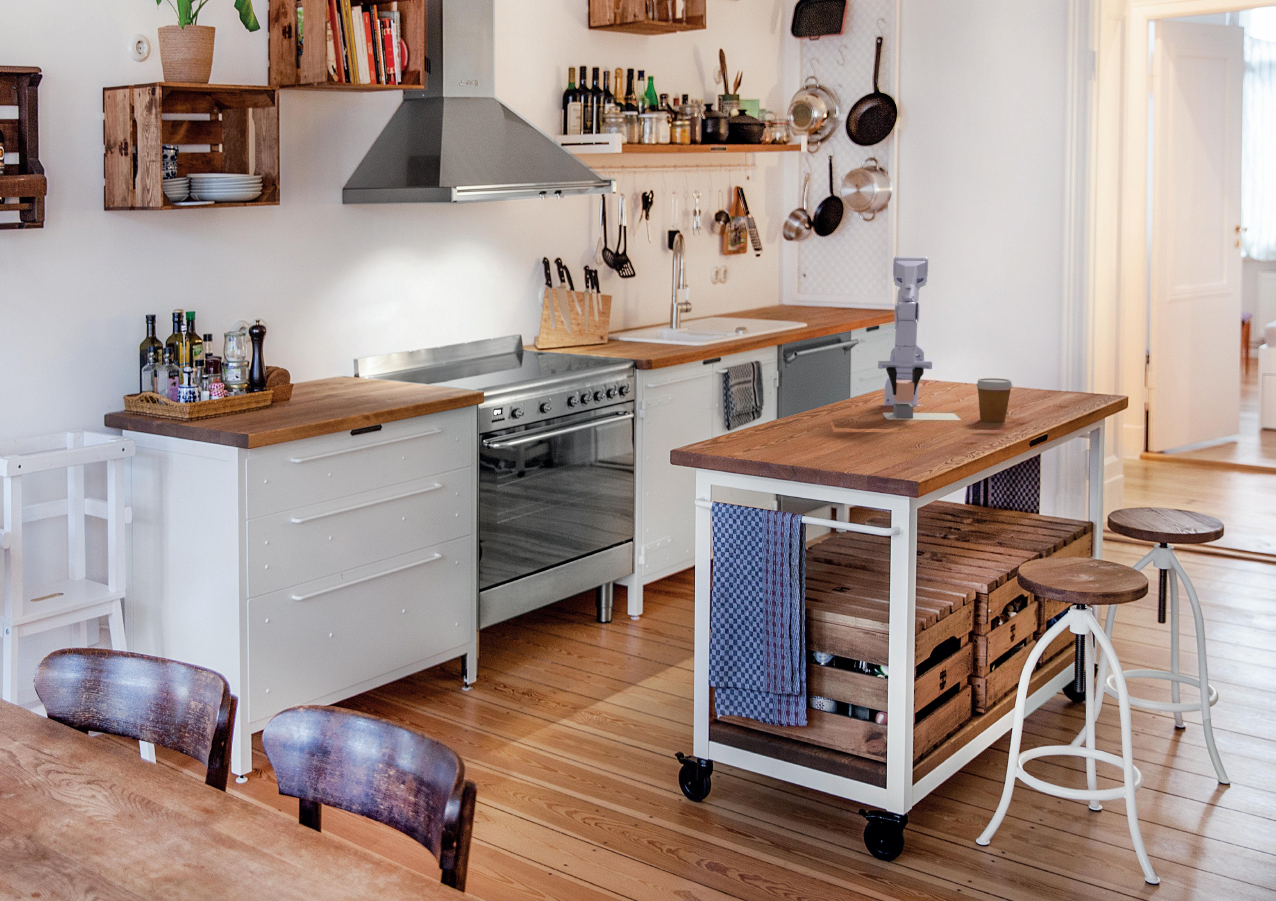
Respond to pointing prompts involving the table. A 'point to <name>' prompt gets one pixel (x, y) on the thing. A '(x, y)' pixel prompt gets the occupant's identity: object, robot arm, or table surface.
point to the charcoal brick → (903, 410)
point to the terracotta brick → (904, 391)
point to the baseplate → (925, 416)
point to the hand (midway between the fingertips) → (903, 394)
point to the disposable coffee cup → (993, 398)
